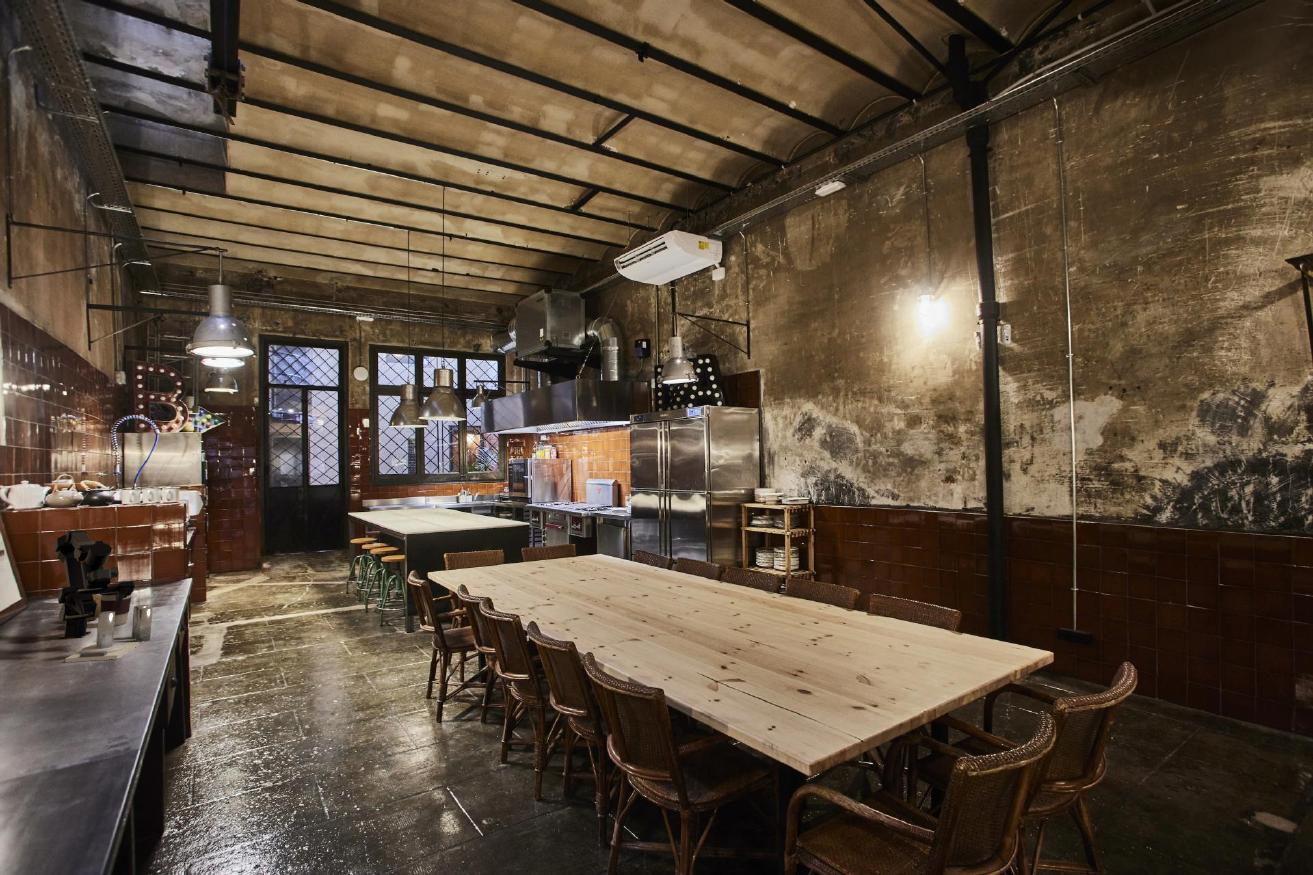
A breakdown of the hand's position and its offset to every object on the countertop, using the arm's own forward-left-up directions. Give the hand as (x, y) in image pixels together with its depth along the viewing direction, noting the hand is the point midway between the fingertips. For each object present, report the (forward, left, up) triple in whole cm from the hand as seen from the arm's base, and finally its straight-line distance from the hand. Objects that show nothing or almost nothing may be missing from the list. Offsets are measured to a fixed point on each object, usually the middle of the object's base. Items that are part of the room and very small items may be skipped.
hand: (101, 612), depth 205 cm
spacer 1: (+5, +3, -10) cm, 12 cm away
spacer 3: (-10, +8, -12) cm, 18 cm away
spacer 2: (-15, +5, -12) cm, 20 cm away
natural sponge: (-47, -22, -13) cm, 53 cm away
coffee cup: (-38, -11, -13) cm, 42 cm away
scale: (+5, +3, -12) cm, 14 cm away
